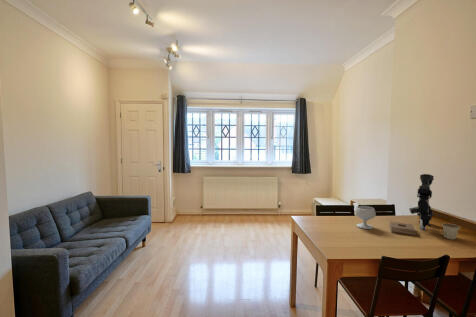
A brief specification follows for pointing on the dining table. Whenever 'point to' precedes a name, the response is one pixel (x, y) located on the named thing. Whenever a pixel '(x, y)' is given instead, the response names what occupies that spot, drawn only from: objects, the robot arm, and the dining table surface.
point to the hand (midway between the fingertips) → (422, 225)
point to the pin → (422, 225)
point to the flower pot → (450, 230)
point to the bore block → (402, 228)
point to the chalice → (365, 216)
